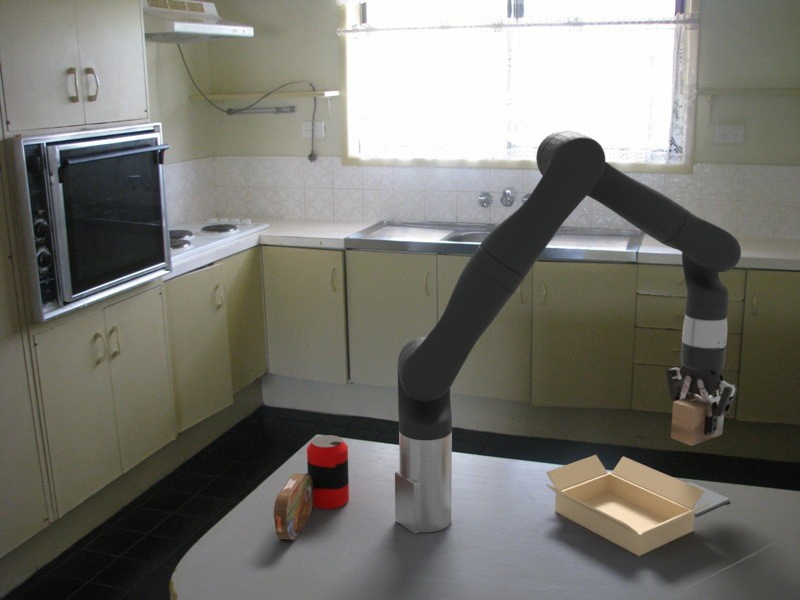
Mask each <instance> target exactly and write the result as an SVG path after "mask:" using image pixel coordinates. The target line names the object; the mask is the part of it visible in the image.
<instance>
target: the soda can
mask: <svg viewBox="0 0 800 600" xmlns="http://www.w3.org/2000/svg"><path fill="white" fill-rule="evenodd" d="M306 461H307V462H306V463H307V473H308V474H309V475H310V476H311V479H312V484H313V506H312V507H314V508H317V509H320V510H334V509H339V508H341V507H343V506H345V505H346V504H347V503H348V502H349V499H350V493H349V492H350V487H349V486H350V485H349V483H350V482H349V480H350V479H349V447H348V445H347V444H346V442H344V440H343V439H342V437H339V436H338V435H332V434H331V435H330V434H328V435H327V434H326V435H320V436H316V437H315V438H313V439H312V440H311V442H310V443H309V444H308V446H307V447H306Z"/></svg>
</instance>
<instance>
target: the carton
mask: <svg viewBox="0 0 800 600" xmlns="http://www.w3.org/2000/svg"><path fill="white" fill-rule="evenodd" d="M545 473H546V475H547V476H548V478H549V480H550V482H551V483H552V484H553V486H552V485H550V484H548V483H546V487H547V488H549V489H550V490H551V491H553V492H554V493H555V504H554V506H555V507H554V512H555V513H557V514H559V515H561V516H562V517H564V518H567V519H568V520H570V521H572V522H574V523H576V524H578V525H580V526H582V527H583V528H585V529H587V530H589V531H590V532H593V533H594V534H596V535H599V536H601V537H602V538H604V539H606V540H608V541H610V542H611V543H613V544H614V545H615V544H616V546H619V547H621V548H623V549H625V550H627V551H629V552H630V553H632V554H634V555H637V557H640V556H642V555H644V554H646V553H649V552H651V551H654V550H655V549H658V548H660V547H662V546H664V545H666V544H669V543H670V542H672V541H674V540H677V539H679V538H681V537H684V536H685V535H687V534H689V533H692V532H694V528H695V527H694V526H695V512H696V511H698V510H700V509H703V508H705V507H707V506H709V504H707V505H705V506H702V507H700V508H698V509H695V510H692V509H693V508H694V506H695V505H696V503H697V502H698V500H699V499H700V497H701V496H702V494H703V493H704V490H701V489H699V488H697V487H694V486H692V485H690V484H687V482H685V481H682V480H679V479H678V478H675V477H673V476H671V475H669V474H666V473H663V472H662V471H661V472H660V471H659V470H656V469H655V468H654V469H653V468H651V467H650V466H647V465H644V464H642V463H639V462H637V461H635V460H633V459H630V458H628V457H626V456H623V455H622V457H621V458H620V460H619V461H618V463H617V464H616V466H615V467H614V469H613V470H612V471H607V470H606V468H605V466H604V465H603V463H602V461H601V460H600V458H599V457H598V455H597V454H594V455H591V456H589V457H586V458H582V459H580V460H577V461H574V462H572V463H568V464H565V465H562V466H561V467H560V466H559V467H557V468H554V469H550V470H548V471H546V472H545Z"/></svg>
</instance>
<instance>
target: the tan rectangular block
mask: <svg viewBox="0 0 800 600" xmlns="http://www.w3.org/2000/svg"><path fill="white" fill-rule="evenodd" d="M710 397H711V395H710V396H709V398H710ZM720 397H721V396H719V398H720ZM719 400H720V399H719ZM712 404H713V403H712ZM705 409H706V405H704V404H703V403H702V399H701V396H699V395H698V394H696V395H695V396H691V397H688V398H683V399H680V400H677V401H672V412H671V413H672V415H671V417H672V418H671V428H670V429H671V430H670V439H673V440H674V441H678V442H681V443H682V444H685V445H689V446H691V447H693V446H695V445H698V444H700V443H704V442H706V441H708V440H711V439H713V438H716V437H719V436H721V435H723V430H724V418H725V417H724V416H725V414H724V415H722V416H719V417H718V421H717V430H716V432H714V433H713V434H712V435H709V436H707V435H705V434H704V426H705V416H706V415H707V414H706V410H705Z"/></svg>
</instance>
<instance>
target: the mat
mask: <svg viewBox="0 0 800 600" xmlns="http://www.w3.org/2000/svg"><path fill="white" fill-rule="evenodd" d="M686 483H687V484H690V485H692V486H694V487H697V488H699V489H701V490H704V493H703V494H702V496H701V497H700V499H699V500H698V502H697V503H696V505H695V506H694V508H693V509H692V510H695V509H698V508H700V507H702V506H705V505H707V504H709V506H707V507H705V508H703V509H700V510H698V511H696V512H695V515H694V517H697V516H700V515H701V514H704V513H706V512H708V511H711V510H712V509H714V508H717V507H719V506H721V505H725V504H727V503H729V502H730V500H731V499H730V498H729V497H726V496H724V495H721V494H720V493H717V492H715V491H713V490H710V489H707V488H705V487H703V486H701V485H698V484H696V483H694V482H692V481H687V482H686Z"/></svg>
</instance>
